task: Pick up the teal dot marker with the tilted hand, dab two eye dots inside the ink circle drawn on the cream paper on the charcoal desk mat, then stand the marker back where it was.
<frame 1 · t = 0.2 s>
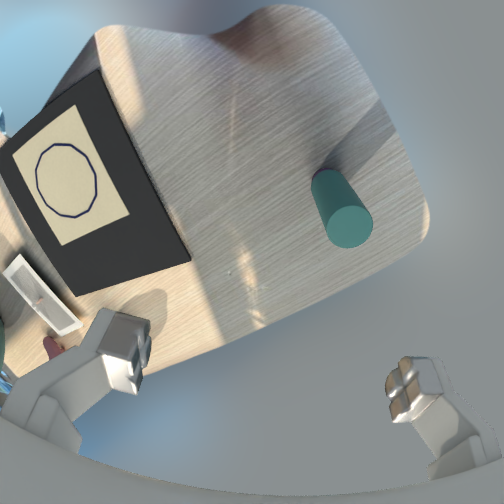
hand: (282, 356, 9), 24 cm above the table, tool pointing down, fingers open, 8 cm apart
dot marker: (326, 181, 31), on the table
video game controller: (63, 353, 49), on the table
white framed picture: (44, 294, 41), on the table
desk mat: (77, 201, 32), on the table
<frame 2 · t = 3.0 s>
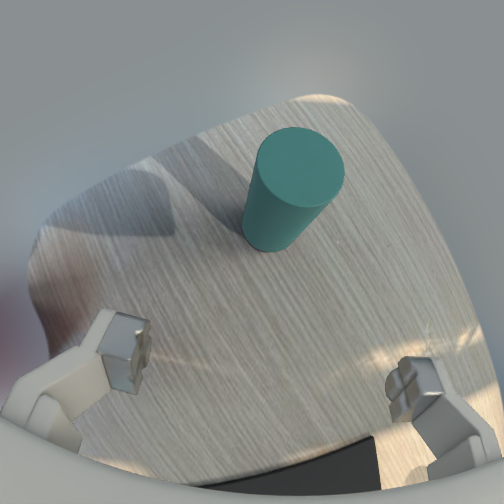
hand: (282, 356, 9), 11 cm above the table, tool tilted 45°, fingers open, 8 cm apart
dot marker: (266, 231, 22), on the table
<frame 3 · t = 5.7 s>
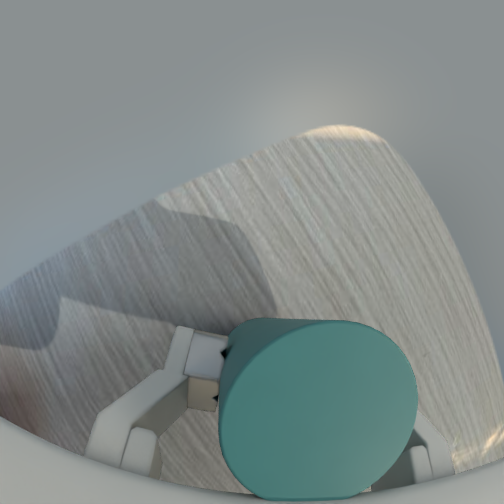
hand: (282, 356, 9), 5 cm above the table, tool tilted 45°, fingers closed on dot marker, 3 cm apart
dot marker: (258, 355, 14), on the table, touching gripper
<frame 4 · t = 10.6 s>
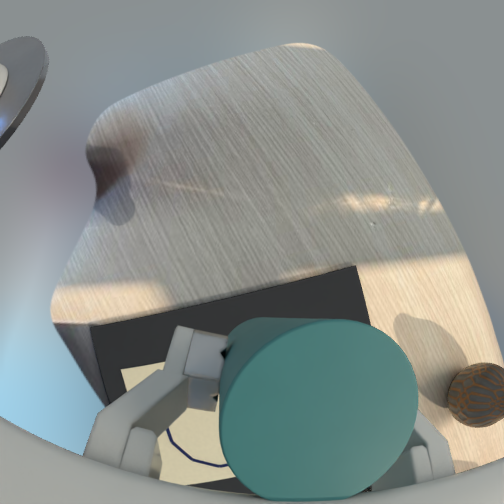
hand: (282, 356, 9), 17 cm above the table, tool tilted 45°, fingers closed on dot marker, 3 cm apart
vase: (458, 390, 26), on the table
dot marker: (258, 354, 14), point 11 cm above the table, touching gripper
desk mat: (253, 411, 24), on the table
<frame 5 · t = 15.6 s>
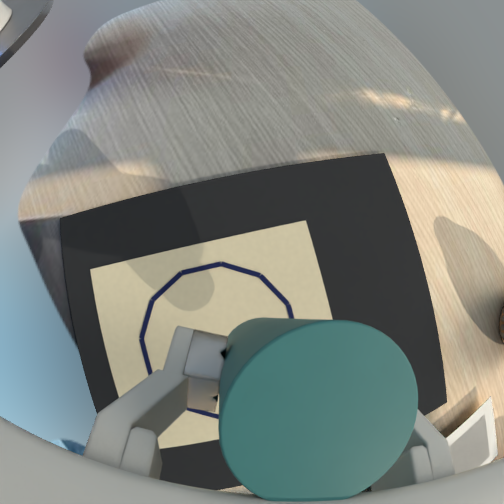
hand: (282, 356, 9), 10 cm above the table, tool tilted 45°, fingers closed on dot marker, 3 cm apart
dot marker: (258, 354, 14), point 4 cm above the table, touching gripper
white framed picture: (428, 476, 17), on the table
desk mat: (267, 329, 19), on the table
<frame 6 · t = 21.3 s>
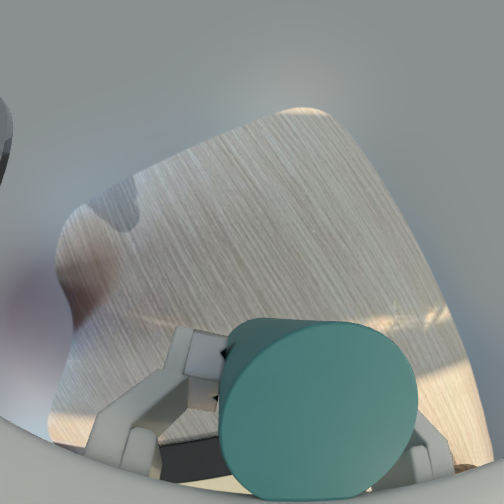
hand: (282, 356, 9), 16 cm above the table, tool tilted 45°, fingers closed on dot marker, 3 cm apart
dot marker: (258, 355, 14), point 11 cm above the table, touching gripper
when the fingers open (5 cm above the table, at t = 25.9 s): dot marker stays where it is, on the table.
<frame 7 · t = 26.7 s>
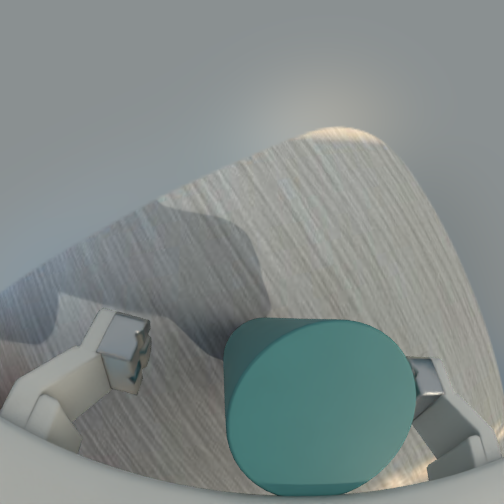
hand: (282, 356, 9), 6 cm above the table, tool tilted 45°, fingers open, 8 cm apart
dot marker: (261, 354, 14), on the table
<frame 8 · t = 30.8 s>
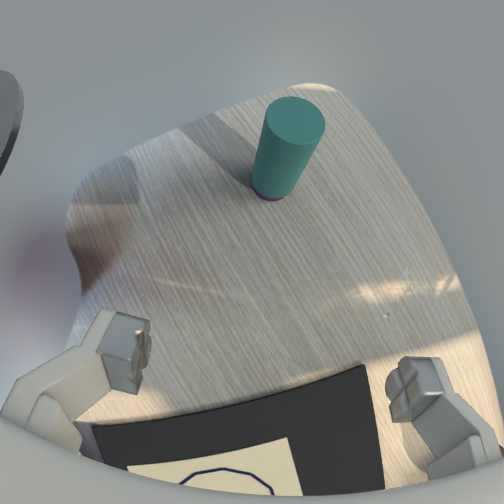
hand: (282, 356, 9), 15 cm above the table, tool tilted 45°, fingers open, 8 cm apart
dot marker: (270, 185, 27), on the table
desk mat: (256, 498, 21), on the table
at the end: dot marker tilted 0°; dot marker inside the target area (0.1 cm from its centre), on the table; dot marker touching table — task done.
